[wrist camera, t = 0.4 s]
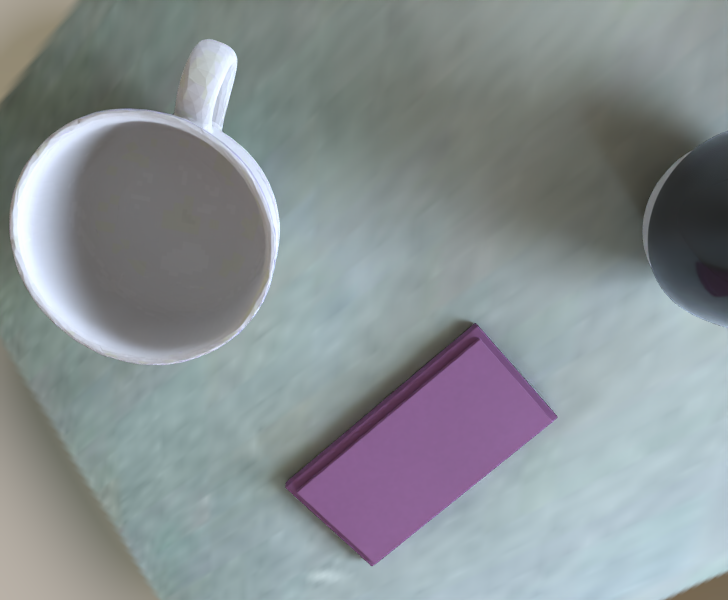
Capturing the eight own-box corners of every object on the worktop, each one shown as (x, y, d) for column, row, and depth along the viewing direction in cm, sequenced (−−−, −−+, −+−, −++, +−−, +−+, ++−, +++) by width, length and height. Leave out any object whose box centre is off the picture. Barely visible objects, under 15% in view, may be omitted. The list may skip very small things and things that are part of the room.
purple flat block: (285, 482, 38) (284, 490, 38) (475, 322, 37) (479, 327, 36) (371, 560, 41) (372, 570, 40) (554, 413, 39) (560, 419, 38)
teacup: (217, 347, 36) (195, 410, 28) (35, 246, 33) (-45, 284, 26) (352, 134, 33) (368, 139, 26) (166, 7, 31) (120, -30, 23)
